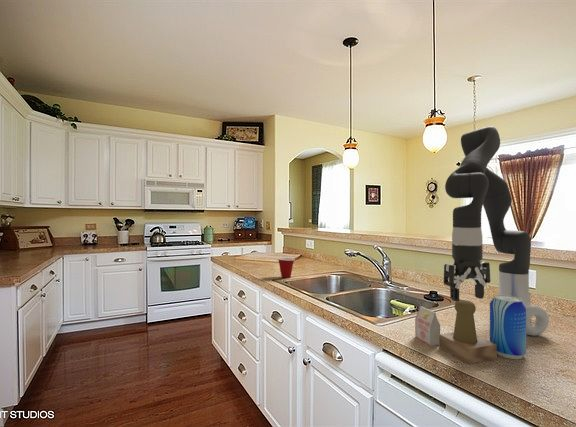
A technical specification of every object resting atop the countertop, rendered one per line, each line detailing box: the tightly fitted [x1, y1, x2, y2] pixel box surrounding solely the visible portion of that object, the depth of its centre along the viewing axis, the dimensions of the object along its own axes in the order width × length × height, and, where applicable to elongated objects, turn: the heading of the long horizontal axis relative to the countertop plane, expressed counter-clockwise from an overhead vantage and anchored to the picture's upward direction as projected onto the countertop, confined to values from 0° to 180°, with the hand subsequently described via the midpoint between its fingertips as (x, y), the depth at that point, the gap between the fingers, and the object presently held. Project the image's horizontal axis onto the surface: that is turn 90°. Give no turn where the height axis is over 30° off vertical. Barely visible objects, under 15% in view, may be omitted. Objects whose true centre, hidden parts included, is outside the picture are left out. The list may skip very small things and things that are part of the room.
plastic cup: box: [277, 257, 296, 279], centre depth 187 cm, size 11×11×12 cm
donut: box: [526, 304, 550, 337], centre depth 98 cm, size 10×4×10 cm, turn 95°
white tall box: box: [414, 305, 441, 347], centre depth 94 cm, size 4×7×10 cm, turn 15°
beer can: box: [489, 294, 527, 360], centre depth 86 cm, size 8×8×16 cm
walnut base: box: [438, 331, 498, 365], centre depth 86 cm, size 10×10×4 cm
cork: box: [453, 299, 478, 344], centre depth 86 cm, size 6×6×11 cm
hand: (467, 299), depth 86 cm, fingers open, 8 cm apart
